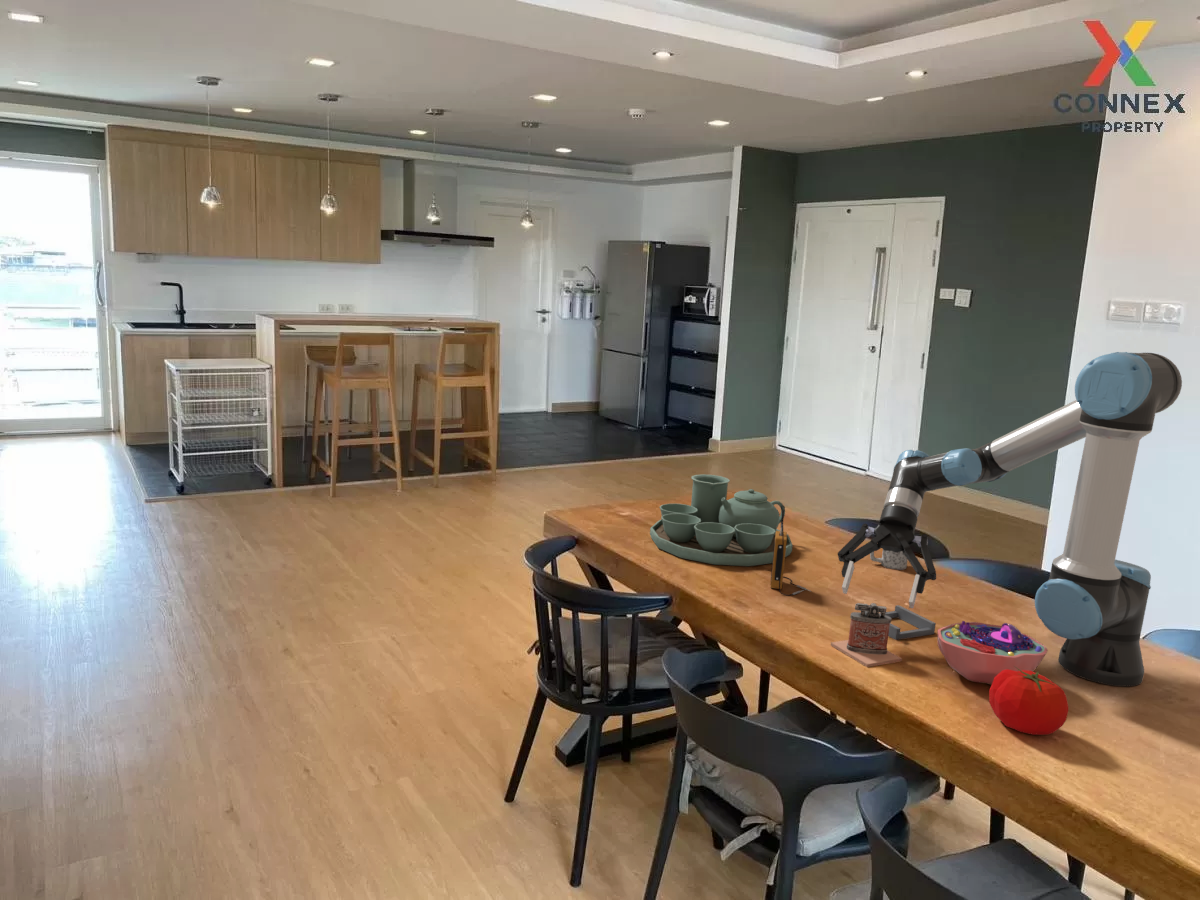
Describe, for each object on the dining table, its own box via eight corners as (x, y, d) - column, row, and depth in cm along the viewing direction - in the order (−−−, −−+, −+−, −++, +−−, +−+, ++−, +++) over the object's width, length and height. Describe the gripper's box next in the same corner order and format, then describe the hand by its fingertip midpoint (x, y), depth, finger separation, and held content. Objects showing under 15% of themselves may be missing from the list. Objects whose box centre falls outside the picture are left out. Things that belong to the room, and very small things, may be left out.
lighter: (885, 649, 182) (891, 603, 180) (888, 655, 178) (894, 609, 177) (845, 645, 183) (850, 599, 181) (847, 651, 179) (853, 605, 177)
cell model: (919, 656, 181) (926, 604, 178) (1017, 663, 180) (1025, 611, 178) (948, 694, 164) (957, 637, 162) (1056, 702, 164) (1066, 645, 161)
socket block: (934, 633, 193) (935, 623, 193) (895, 640, 189) (897, 629, 188) (897, 615, 203) (898, 605, 203) (859, 620, 198) (861, 610, 198)
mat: (901, 661, 178) (901, 658, 178) (866, 667, 174) (867, 664, 174) (863, 640, 188) (864, 637, 187) (830, 645, 184) (830, 642, 184)
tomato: (999, 705, 161) (1008, 652, 159) (1073, 733, 152) (1083, 678, 150) (972, 723, 154) (981, 668, 152) (1048, 753, 145) (1058, 696, 143)
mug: (903, 563, 244) (906, 540, 243) (909, 570, 237) (912, 547, 236) (866, 560, 245) (869, 537, 243) (871, 567, 238) (874, 544, 237)
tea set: (622, 539, 251) (625, 483, 248) (712, 519, 278) (716, 468, 275) (731, 578, 223) (736, 515, 220) (819, 552, 250) (826, 496, 247)
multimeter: (812, 599, 211) (821, 518, 207) (770, 594, 212) (778, 514, 209) (810, 579, 225) (818, 504, 221) (770, 575, 227) (778, 499, 223)
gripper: (960, 533, 190) (940, 619, 179) (845, 512, 201) (819, 593, 191) (960, 514, 184) (939, 602, 174) (841, 494, 196) (815, 576, 186)
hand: (876, 597), depth 183 cm, fingers open, 13 cm apart
